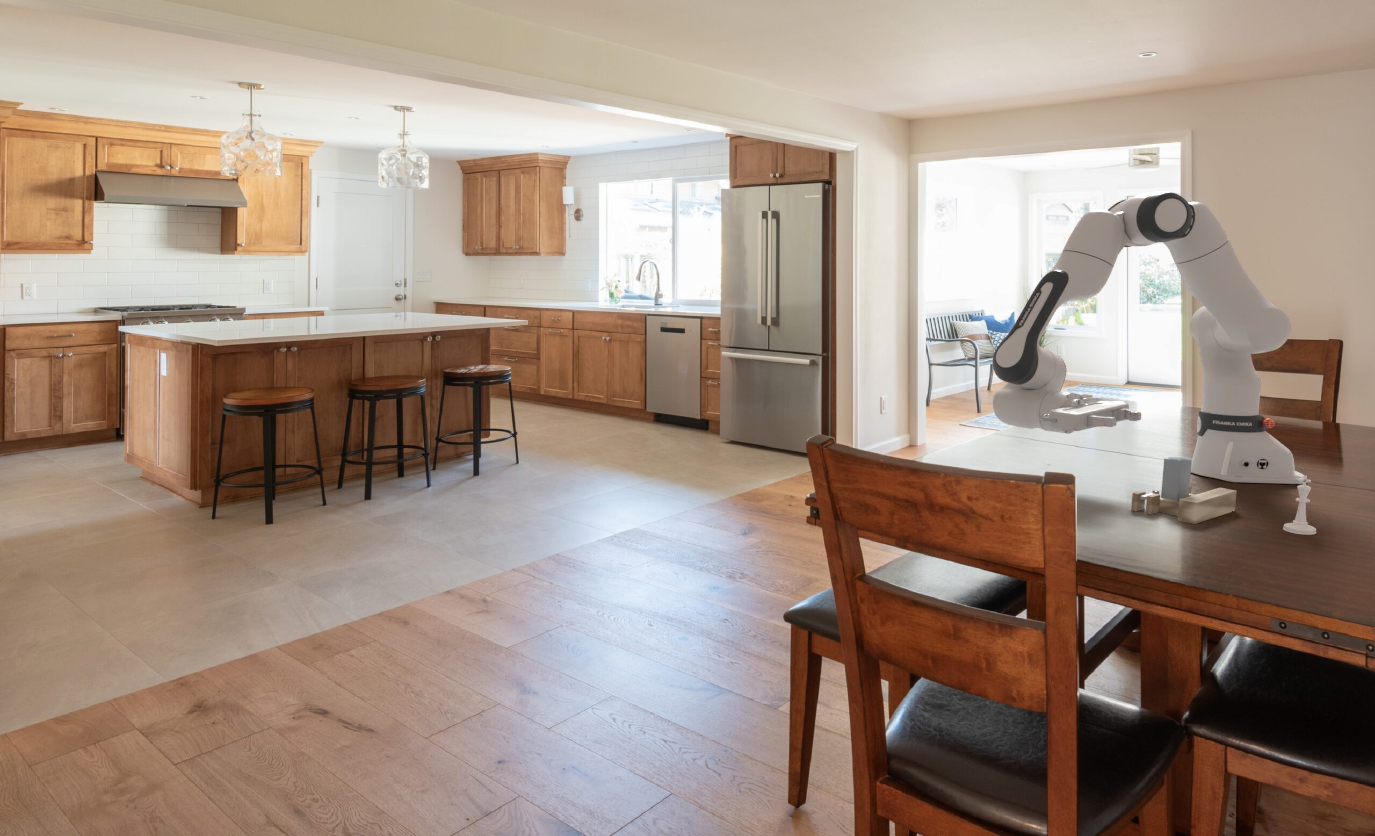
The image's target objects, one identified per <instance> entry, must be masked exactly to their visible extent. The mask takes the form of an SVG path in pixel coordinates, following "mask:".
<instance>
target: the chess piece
mask: <svg viewBox="0 0 1375 836" xmlns="http://www.w3.org/2000/svg"><path fill="white" fill-rule="evenodd" d="M1299 482H1303V484H1298V485H1297V486H1296V488H1297V491H1298V496H1299V497H1296V498H1295V501H1296V502H1298V505H1297V506H1298V507H1297V511H1296V515H1295V518H1294V520H1292V522H1286V523H1284V524H1283V527H1282V530H1283V531H1285V532H1288V533H1292V534H1296V535H1305V536H1306V535H1307V536H1312V535H1315V534H1317V528H1316V527H1314V526H1313V525H1310V524H1309V522H1308V521H1307V507H1306V506H1307V503H1310V502H1311V500H1310V499H1309V498H1308V495H1309V493H1310V492H1311V489H1312V487H1311V486H1309V485H1307V483H1310V484H1311V483H1312V479H1308V476H1307V475H1304V479H1299Z"/></svg>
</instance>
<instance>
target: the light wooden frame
mask: <svg viewBox="0 0 1375 836" xmlns="http://www.w3.org/2000/svg"><path fill="white" fill-rule="evenodd" d="M1237 493H1238V492H1237V490H1236V489H1230V488H1224V487H1218V488H1214V489H1211V490H1207V491H1203V492H1201V493H1197V494H1193V493H1192V485H1190V487H1189V497H1186V498H1183V499H1180V500H1179V501H1175V500H1169V499H1164V498H1161V494H1160V493H1159V494H1152V495H1149V496H1147V499H1146V500H1142V499H1140V496H1142V495H1146V491H1144V490H1139V491H1135V492H1132V493H1131V494H1132V496H1131V507H1130V508H1131V509H1130V511H1134V512H1138V511H1142V510H1145V514H1148V515H1154V514H1156V513H1157V514H1158V513H1162V514H1169V515H1171V516H1172V515H1173V516H1177V521H1179V522H1183V523H1186V524H1188V523H1189V524H1192V525H1196V524H1199V523H1202V522H1205V521H1207V520H1211V519H1214V518H1217V517H1219V516H1223V515H1227V514H1229V513H1233V512H1235V510H1236V502H1237V501H1236V500H1237ZM1145 502H1146V503H1145ZM1232 511H1233V512H1232ZM1153 513H1154V514H1153Z"/></svg>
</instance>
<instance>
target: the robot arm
mask: <svg viewBox="0 0 1375 836" xmlns="http://www.w3.org/2000/svg"><path fill="white" fill-rule="evenodd" d="M1158 243H1163V244H1164V246H1166V247H1167V249H1168V250H1169V253H1170V255H1171V257H1172V259H1173V262H1174V264H1175V266H1176V268H1177V271H1178V272H1179V275H1180V276H1181V278H1182V281H1183V282H1184V284H1185V285H1184V286H1186V288H1187V291H1188V292H1189V294H1190V295H1191V296H1192V297H1193V298H1195V299H1196V300H1197V301H1199V302H1200V303H1201V304H1202V305H1203V306H1201V307H1199V308H1198V309H1197V310H1196V311H1195V312H1194V313H1193V315H1192V316H1191V319H1190V321H1189V332H1190V334H1191V336H1192V338H1193V339H1194V341H1195V342H1196V344H1197V347H1198V351H1199V355H1200V361H1201V365H1202V366H1201V367H1202V372H1203V373H1202V375H1203V383H1202V384H1203V385H1202V388H1203V389H1202V400H1201V401H1202V402H1201V409H1200V410H1199V411H1198V416H1197V422H1196V424H1197V425H1196V432H1197V433H1196V434H1197V439H1196V440H1197V441H1196V445H1195V448H1194V452H1193V455H1192V458H1191V459H1192V465H1191V473H1192V474H1195V475H1199V476H1203V477H1207V478H1212V479H1213V478H1214V479H1218V480H1222V481H1225V482H1232V483H1250V484H1251V483H1253V484H1255V483H1256V484H1258V483H1259V484H1286V485H1287V484H1289V485H1290V484H1291V485H1303V482H1299V479H1304V476H1305V475H1304V474H1303V473H1301V472H1300V471H1297V470H1295V469H1296V467H1295V460H1294V455H1293V453H1292V451H1291V450H1290V449H1289V448H1288V447H1287V446H1286V445H1284V444H1282V443H1281V442H1280V441H1279V440H1278V439H1277V438H1275V437H1274V436H1273V435H1271V434H1270V433H1268V431H1266V430H1268V429H1272V428H1273V427H1275V425H1276V423H1275V421H1274V419H1271V418H1270V417H1265V416H1263V415H1261V414H1259V411H1260V401H1261V391H1262V390H1261V389H1262V388H1261V387H1262V378H1261V377H1260V375H1259V373H1258V372H1257V371H1256V369H1255V366H1254V363H1253V358H1252V355H1255V354H1256V355H1257V354H1263V353H1268V352H1273V351H1276V350H1278V349H1279V348H1281V347H1282V346H1283V345H1284V344H1285V343H1286V342H1287V341H1288V340H1289V337H1290V334H1291V332H1292V331H1291V330H1292V325H1291V320H1290V318H1289V316H1288V314H1287V313H1286V312H1284V311H1283V310H1282V309H1281V308H1279V307H1277V306H1276V305H1274V304H1273V303H1272V302H1271V301H1270V300H1269V299H1268V298H1267V297H1266V295H1264V293H1263V292H1262V291H1261V290H1260V289H1259V288H1258V286H1257V285H1256V283H1254V281H1253V279H1251V278H1250V276H1249V275H1248V274H1247V273H1246V271H1245V269H1244V268H1243V266H1242V264H1241V263H1240V260H1239V258H1238V256H1237V254H1236V252H1235V249H1234V248H1233V245H1232V244H1231V242H1230V240H1229V237H1228V236H1227V234H1226V232H1225V230H1224V228H1223V226H1222V225H1221V223H1220V221H1219V220H1218V219H1217V217H1216V215H1215V214H1214V213H1213V211H1212V210H1211V209H1210V208H1209V206H1207V205H1206V204H1205V203H1202V202H1199V201H1191V202H1190V201H1189V202H1188V201H1187V200H1186V199H1185V198H1184V197H1183V196H1181V195H1180V194H1178V193H1175V192H1172V191H1167V190H1165V191H1164V190H1160V191H1154V192H1146V193H1142V194H1141V193H1140V194H1137V195H1134V196H1133V197H1130V198H1126V199H1122V200H1120V201H1117V202H1116V203H1115V204H1112V206H1110V207H1109V208H1108V209H1107V210H1106V209H1093V210H1090V211H1088V212H1086V213H1084V215H1083V216H1082V217H1081V218H1080V219H1079V221H1078V222H1077V224H1076V226H1074V229H1073V230H1072V232H1071V233H1070V235H1069V237H1068V239H1067V241H1066V243H1065V245H1064V247H1063V249H1062V252H1061V254H1060V256H1059V257H1058V259H1057V262H1056V263H1055V264H1054V267H1053V268H1052V269H1051V271H1049V272H1047V273H1045V275H1043V277H1042V278H1041V279H1040V281H1039V282H1038V284H1037V285H1036V287H1035V288H1034V290H1033V291H1032V293H1031V295H1030V296H1029V299H1028V300H1027V302H1026V304H1025V305H1024V307H1023V308H1022V311H1021V312H1020V314H1019V316H1018V318H1017V320H1016V321H1015V322H1014V324H1013V326H1012V328H1011V329H1010V330H1009V332H1008V333H1007V335H1005V337H1004V338H1003V339H1002V340H1001V341H1000V342H999V344H998V346H997V347H996V349H995V351H994V353H993V356H992V368H993V372H994V373H995V375H996V376H997V378H998V379H999V380H1001V381H1003V382H1006V384H1005V385H1004V386H1003V387H1001V388H1000V389H998V390H997V391H996V392H995V393H994V394H993V398H992V409H993V413H994V415H995V416H996V418H997V419H998V420H999V421H1000V422H1002V423H1004V424H1006V425H1008V426H1012V427H1017V428H1022V429H1030V430H1033V429H1040V430H1043V431H1045V432H1046V431H1047V432H1050V433H1057V434H1058V433H1060V434H1065V435H1066V434H1067V435H1068V434H1072V433H1074V432H1080V431H1085V430H1089V429H1094V428H1096V427H1102V428H1103V427H1107V428H1113V427H1116V426H1117V423H1118V422H1123V421H1127V420H1128V421H1129V422H1130V421H1131V422H1138V421H1141V420H1142V413H1141V412H1140V411H1134V410H1131V409H1130V405H1129V403H1127V402H1124V401H1120V400H1114V399H1109V398H1103V397H1094V396H1093V394H1091V393H1076V392H1069V391H1062V389H1063V385H1064V383H1065V379H1066V377H1067V365H1066V363H1065V361H1064V360H1063V358H1062V357H1061V356H1059V355H1057V354H1056V353H1054V352H1052V351H1051V350H1049V349H1046V348H1044V347H1042V346H1040V340H1041V338H1042V336H1043V334H1044V333H1045V331H1046V329H1047V327H1048V325H1049V323H1050V322H1051V320H1052V318H1053V317H1054V315H1055V313H1056V311H1057V310H1058V309H1059V308H1060V307H1061V306H1063V304H1065V303H1068V302H1071V301H1072V302H1073V301H1074V302H1075V301H1083V300H1088V299H1089V298H1092V297H1094V296H1096V295H1098V294H1099V293H1100V292H1101V291H1102V290H1103V288H1104V287H1105V286H1106V284H1107V282H1108V280H1109V278H1110V276H1111V274H1112V271H1113V269H1114V267H1115V263H1116V261H1117V260H1118V259H1117V258H1118V256H1119V255H1120V253H1121V252H1122V250H1123V249H1124V248H1131V247H1146V246H1150V245H1154V244H1158Z"/></svg>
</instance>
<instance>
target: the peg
mask: <svg viewBox="0 0 1375 836" xmlns="http://www.w3.org/2000/svg"><path fill="white" fill-rule="evenodd" d="M1191 465H1192V458H1190V457H1189V458H1188V457H1185V456H1177V455H1172V456H1169V457H1165V458H1164V459H1163V470H1162V482H1161V490H1160V491H1161V493H1160V498H1164V499H1169V500H1175V501H1179V500H1180V499H1183V498H1186V497H1189V487H1190V486H1191V473H1192V472H1191Z"/></svg>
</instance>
